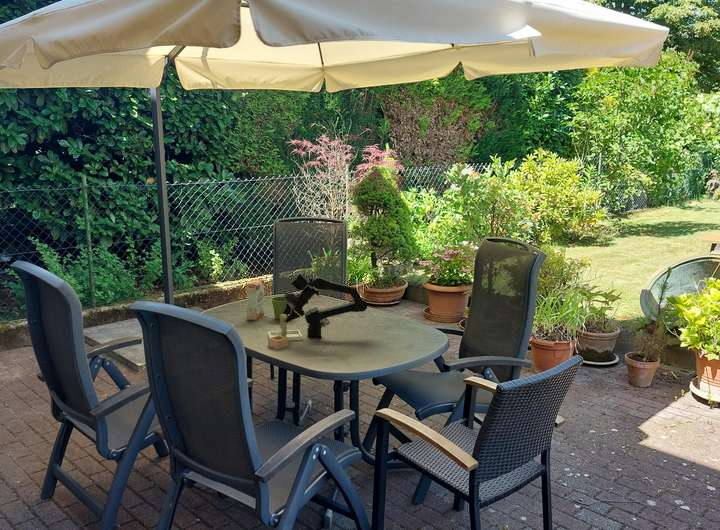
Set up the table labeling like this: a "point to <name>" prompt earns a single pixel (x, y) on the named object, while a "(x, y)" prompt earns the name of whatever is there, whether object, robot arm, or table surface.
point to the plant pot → (279, 306)
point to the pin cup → (278, 342)
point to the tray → (288, 334)
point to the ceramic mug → (324, 319)
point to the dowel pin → (283, 325)
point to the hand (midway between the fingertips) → (283, 319)
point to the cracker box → (255, 299)
